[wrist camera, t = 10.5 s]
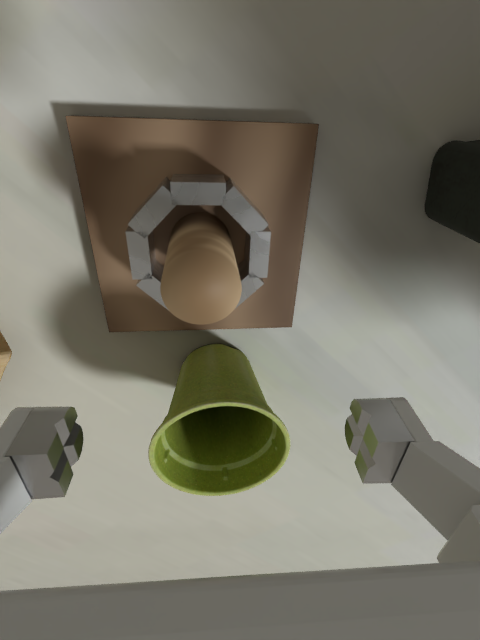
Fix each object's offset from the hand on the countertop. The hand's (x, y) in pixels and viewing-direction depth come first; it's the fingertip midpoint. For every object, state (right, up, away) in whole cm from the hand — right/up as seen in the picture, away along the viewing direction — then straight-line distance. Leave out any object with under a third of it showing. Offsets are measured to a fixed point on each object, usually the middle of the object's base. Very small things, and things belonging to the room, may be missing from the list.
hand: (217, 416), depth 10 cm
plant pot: (-2, -1, +20) cm, 20 cm away
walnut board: (-2, +9, +14) cm, 16 cm away
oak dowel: (-2, +8, +13) cm, 15 cm away
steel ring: (-2, +9, +14) cm, 16 cm away
